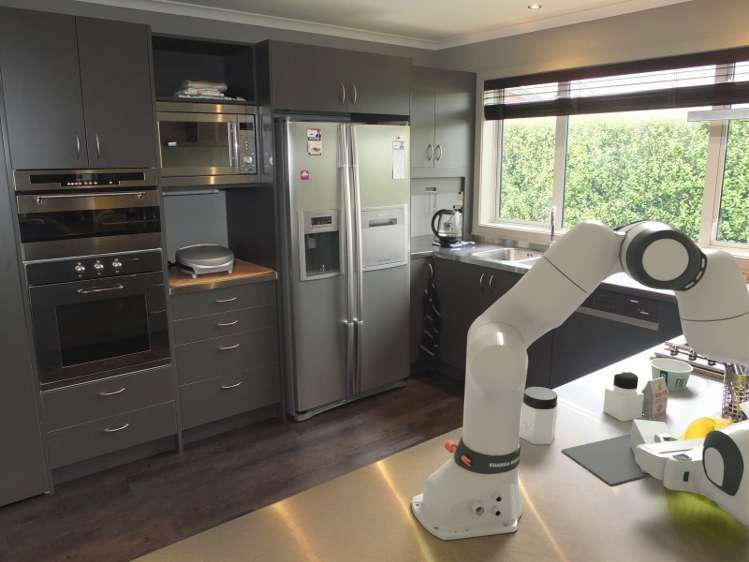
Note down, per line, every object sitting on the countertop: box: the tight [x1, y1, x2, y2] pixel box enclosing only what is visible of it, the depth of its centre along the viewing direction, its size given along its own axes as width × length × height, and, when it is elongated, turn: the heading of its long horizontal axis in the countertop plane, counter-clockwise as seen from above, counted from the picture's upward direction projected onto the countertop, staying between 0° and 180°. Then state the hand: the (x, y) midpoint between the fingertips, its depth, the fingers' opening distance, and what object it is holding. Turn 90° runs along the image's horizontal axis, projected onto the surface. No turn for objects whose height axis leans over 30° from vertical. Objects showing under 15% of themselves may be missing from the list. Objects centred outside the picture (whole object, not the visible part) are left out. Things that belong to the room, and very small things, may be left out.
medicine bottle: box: [602, 370, 644, 423], centre depth 160 cm, size 7×7×12 cm
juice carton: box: [640, 377, 669, 418], centre depth 162 cm, size 4×7×10 cm, turn 119°
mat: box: [561, 433, 651, 487], centre depth 138 cm, size 22×16×1 cm
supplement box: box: [630, 418, 674, 473], centre depth 136 cm, size 7×7×13 cm
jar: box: [519, 386, 558, 445], centre depth 147 cm, size 9×8×12 cm
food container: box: [649, 357, 694, 391], centre depth 182 cm, size 12×12×6 cm
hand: (659, 436), depth 128 cm, fingers closed
